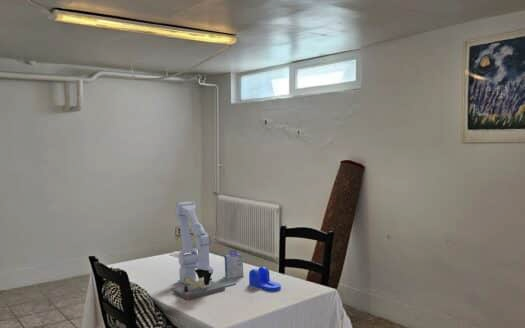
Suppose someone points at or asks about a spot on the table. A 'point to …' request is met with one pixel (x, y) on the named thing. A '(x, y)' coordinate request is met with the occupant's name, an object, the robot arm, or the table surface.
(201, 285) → the brass flat bar
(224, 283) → the mat
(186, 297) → the grey panel
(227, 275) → the ink cartridge box
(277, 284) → the bracket
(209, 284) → the plug
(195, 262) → the robot arm
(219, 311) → the table surface
